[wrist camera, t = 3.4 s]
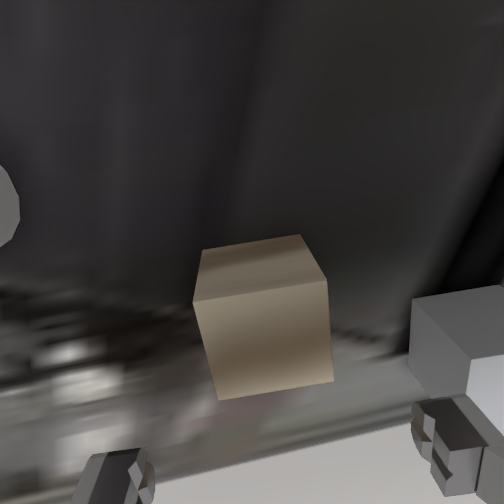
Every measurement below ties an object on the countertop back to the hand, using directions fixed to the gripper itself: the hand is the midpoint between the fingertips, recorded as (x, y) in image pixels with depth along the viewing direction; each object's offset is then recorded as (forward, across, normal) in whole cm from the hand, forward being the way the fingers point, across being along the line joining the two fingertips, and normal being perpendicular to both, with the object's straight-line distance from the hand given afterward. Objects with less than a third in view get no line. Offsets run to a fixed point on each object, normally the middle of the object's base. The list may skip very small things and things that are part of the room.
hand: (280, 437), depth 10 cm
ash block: (+9, 0, -1) cm, 9 cm away
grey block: (+9, -11, +4) cm, 15 cm away
